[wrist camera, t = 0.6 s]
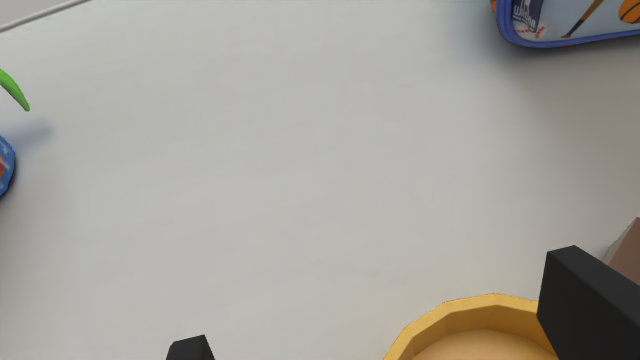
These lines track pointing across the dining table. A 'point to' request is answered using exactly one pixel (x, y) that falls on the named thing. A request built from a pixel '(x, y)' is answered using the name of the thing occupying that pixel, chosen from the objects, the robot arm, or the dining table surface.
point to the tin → (476, 332)
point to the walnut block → (626, 253)
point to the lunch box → (565, 21)
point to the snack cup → (3, 155)
